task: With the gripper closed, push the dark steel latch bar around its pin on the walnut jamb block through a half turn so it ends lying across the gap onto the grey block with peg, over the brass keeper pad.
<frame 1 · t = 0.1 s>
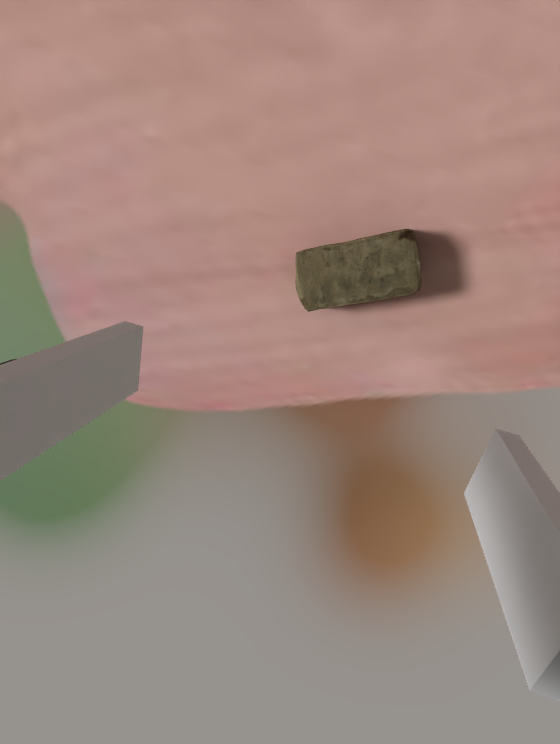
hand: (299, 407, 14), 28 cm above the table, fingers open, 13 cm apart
stone block: (356, 268, 39), on the table
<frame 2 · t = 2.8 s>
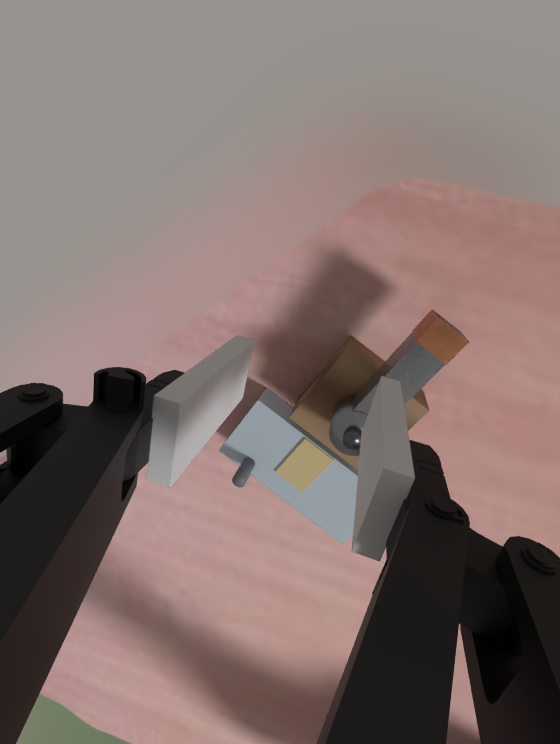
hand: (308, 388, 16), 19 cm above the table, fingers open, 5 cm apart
latch bar: (390, 389, 28), point 6 cm above the table, hinge at 0.0°
grey block with peg: (307, 458, 39), on the table
jamb block: (358, 395, 36), on the table
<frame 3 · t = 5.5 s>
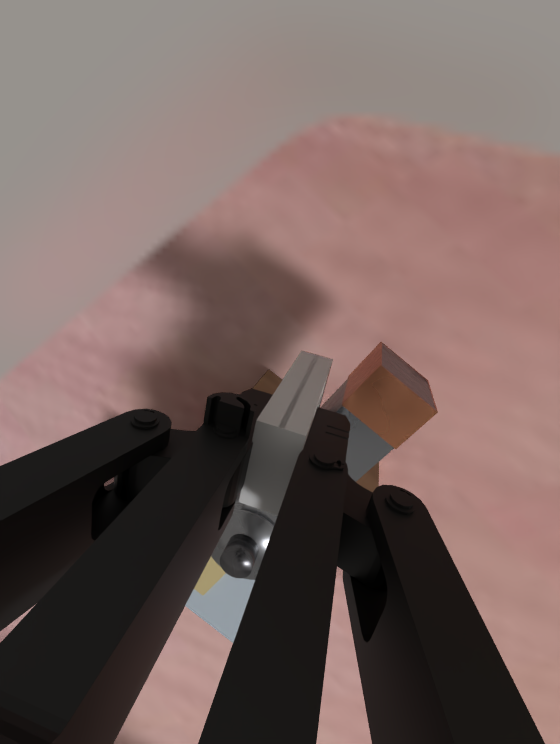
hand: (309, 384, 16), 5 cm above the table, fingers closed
latch bar: (306, 476, 16), point 6 cm above the table, hinge at 1.4°, touching gripper
grey block with peg: (219, 537, 27), on the table
jamb block: (283, 456, 24), on the table
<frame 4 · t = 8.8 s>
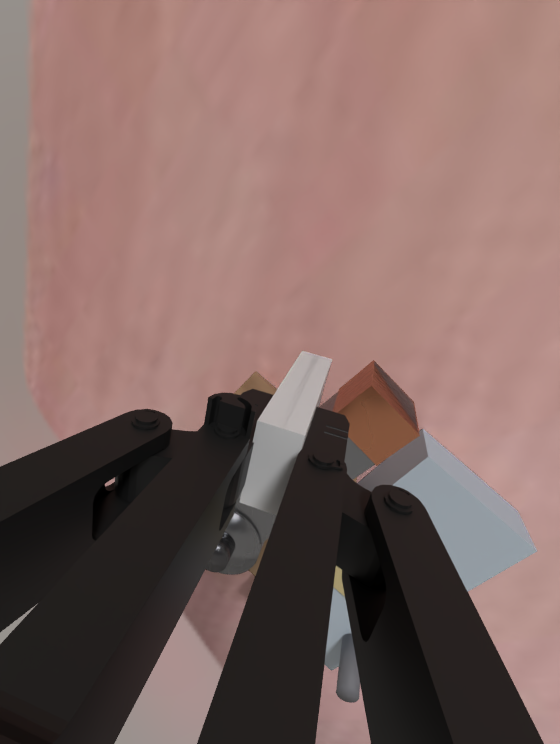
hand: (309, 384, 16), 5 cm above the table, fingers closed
latch bar: (288, 481, 17), point 6 cm above the table, hinge at 95.2°, touching gripper
grey block with peg: (374, 540, 24), on the table
jamb block: (267, 456, 24), on the table
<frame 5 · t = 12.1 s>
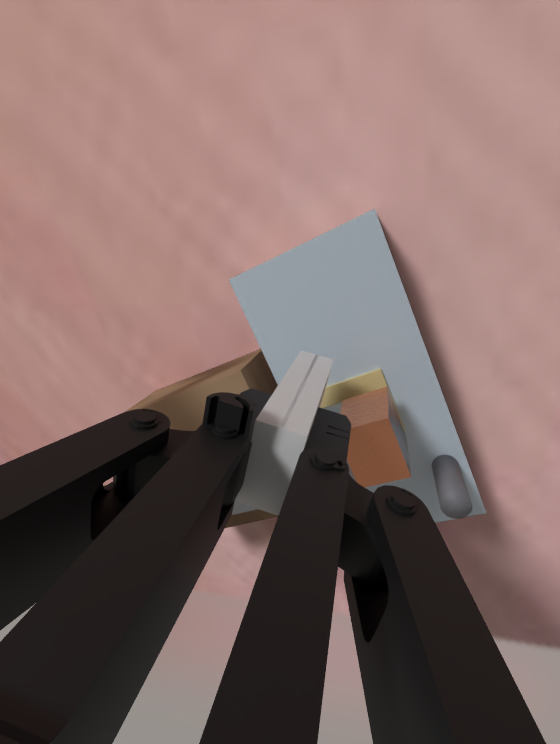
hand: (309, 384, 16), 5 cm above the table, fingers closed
latch bar: (264, 470, 17), point 6 cm above the table, hinge at 180.7°, touching gripper
grey block with peg: (362, 377, 21), on the table
jamb block: (235, 428, 24), on the table
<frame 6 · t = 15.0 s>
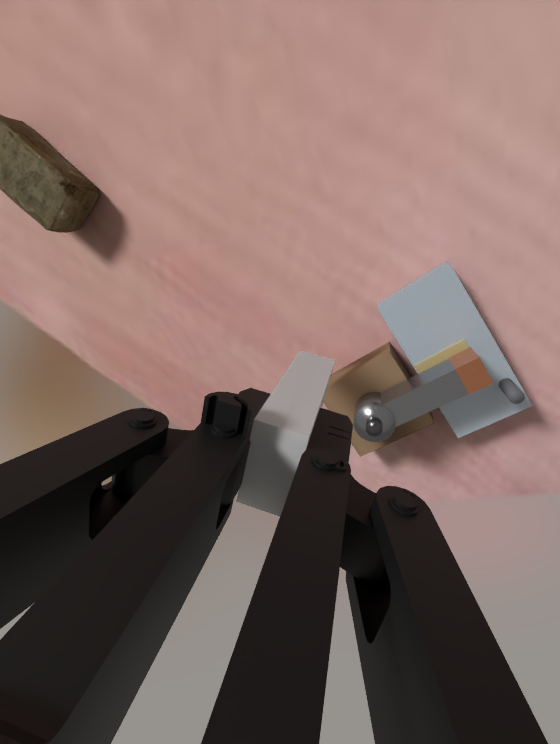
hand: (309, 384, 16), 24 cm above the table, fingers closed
stone block: (56, 178, 42), on the table
latch bar: (416, 398, 34), point 6 cm above the table, hinge at 180.8°
grey block with peg: (449, 348, 38), on the table
jamb block: (374, 392, 41), on the table
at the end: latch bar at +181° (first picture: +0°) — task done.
